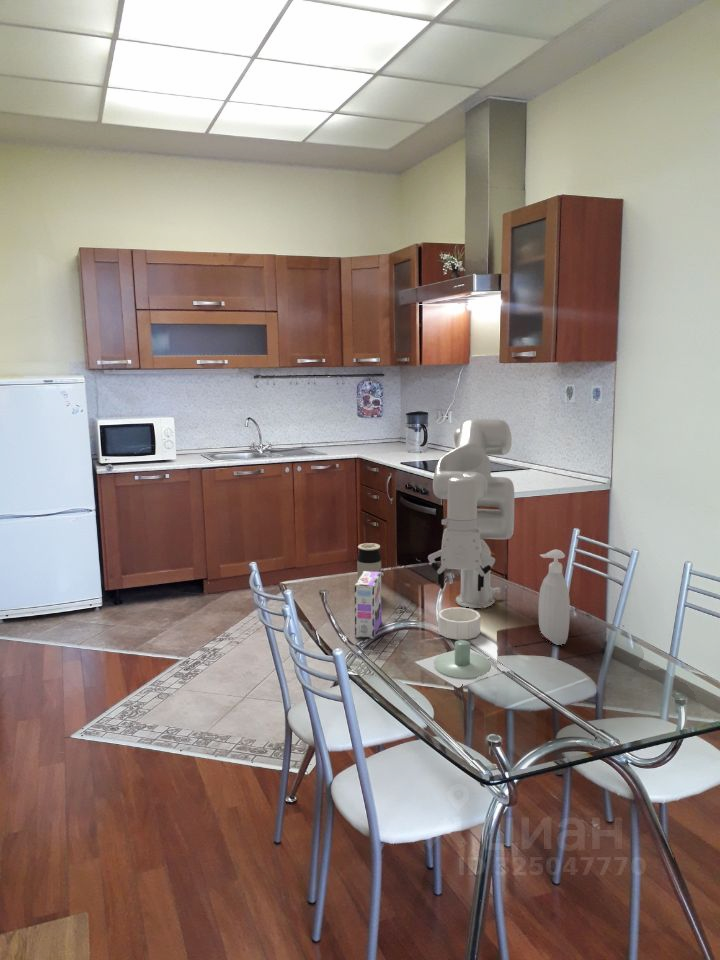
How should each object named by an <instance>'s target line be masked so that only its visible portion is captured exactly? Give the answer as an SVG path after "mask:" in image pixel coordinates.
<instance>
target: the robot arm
mask: <svg viewBox="0 0 720 960" xmlns="http://www.w3.org/2000/svg"><path fill="white" fill-rule="evenodd" d="M512 440H513V439H512V433H511V428H510V426H509V424H508V423H507V422H506V421H505V420H503V419H499V418H498V419H494V418H493V419H491V418H490V419H489V418H488V419H487V418H486V419H485V418H484V419H483V418H480V419H479V418H473V419H467V420H466V421H464V422H463V423H462V424H461V425H460V427H459V428H457V429H455V430H454V433H453V441H454V445H455V448H454V449H452V450H451V451H448V452H447V453H446V454H445V455H443V456H441V458H440V459H439V460H438V462H437V463H436V465H435V470H434V475H433V479H432V491H433V495H434V496H435V497H436V498H438V499H442V500H446V502H447V503H446V504H447V505H446V506H447V509H446V512H447V513H446V515H447V516H446V518H443V519H441V525H442V526H443V525H444V526H445V527H446V528H444V530H443V533H442V540H441V549H439V550H437V551H435V552H433V553H430V554H429V555H428V556H427V559H428V561H429V564H430V565H431V568H433V569H434V571H435V572H436V573H437V574H438V575H437V585H439V586H440V588H439V589H440V590H443V589H444V587H445V570H446V569H449V570H460V594H459V595H457V596H456V597H455V603H456V604H457V605H459V607H462V608H466V607H469V608H468V609H474V608H479V607H484V606H488V605H491V604H492V603H493V602H494V603H495V599H494V597H493V596H494V595H495V594H500V593H502V592H501V588H500V587H492V586H491V571H492V570H491V569H492V568H493V567H494V565H495V562H496V558H494V557H493V556H492V552H491V549H490V547H489V545H488V544H487V543H486V541H485V540H488V539H489V540H508V539H511V538H512V536H513V534H514V528H515V485H514V482H513V480H511V479H510V478H509V477H506V476H505V477H504V476H492V475H491V474H492V473H491V472H492V471H491V469H492V468H491V464H492V463H491V459H490V457H489V456H505V455H507V454H508V453H510V451H511V448H512V444H513V443H512V442H513V441H512ZM478 507H491V508H493V507H494V508H495V507H496V508H498V509H489V508H478ZM439 557H440V563H441V564H440V565H439V564H438V562H436V560H435V559H437V558H439Z"/></svg>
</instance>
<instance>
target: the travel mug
mask: <svg viewBox="0 0 720 960" xmlns="http://www.w3.org/2000/svg"><path fill="white" fill-rule="evenodd" d="M357 548H358V553H357V556H356V557H357V559H356V560H357V562H356V563H357V567H356V568H357V569H356V570H357V580H358V579H359V578H360V576H361V575H362V573H363V571H371V572H381V573H382V554H381V553H380V548H381V545H380V544H378V543H374V542H373V543H372V542H371V543H370V542H369V543H368V542H366V543H360V544H358V546H357Z"/></svg>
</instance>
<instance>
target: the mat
mask: <svg viewBox="0 0 720 960" xmlns="http://www.w3.org/2000/svg"><path fill="white" fill-rule="evenodd" d="M449 652H455V649H454V650H450V651H447V652H446V653H449ZM444 653H445V652H443V653H441V654H444ZM470 653H475V654H479V655H481V656H483V657H485V658H486V656H485V655H482V654H481V653H480V652H477V651H475V650H473V649H471V648H470ZM441 654H437V655H433V656H430V657H427V658H423V659H420V660H417V661H414V663H415V664H417V665H418V666H420V667H422V668H423V669H425V670H427V671H429V672H430V673H432V674H433V675H435V676H437V677H438V678H441V680H444V681H445V682H447V683H449V684H450V685H452V686H454V687H455V688H457V689H460V688H462V687H465V686H468V685H471V684H475V683H474V679H476V678H469V679H462V678H453V677H449V676H446V675H443V674H441V673H439V672H438V671H437V670H436V669H435V668H434V660H435V658H436V657H438V656H439V655H441ZM497 667H498V668H499V669H500V670H501V671H505V673H507V672H511V671H512V669H510V668H508V667H506V666H504V665H502V664H500V663H498V664H497ZM462 684H463V686H462ZM461 686H462V687H461Z"/></svg>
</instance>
